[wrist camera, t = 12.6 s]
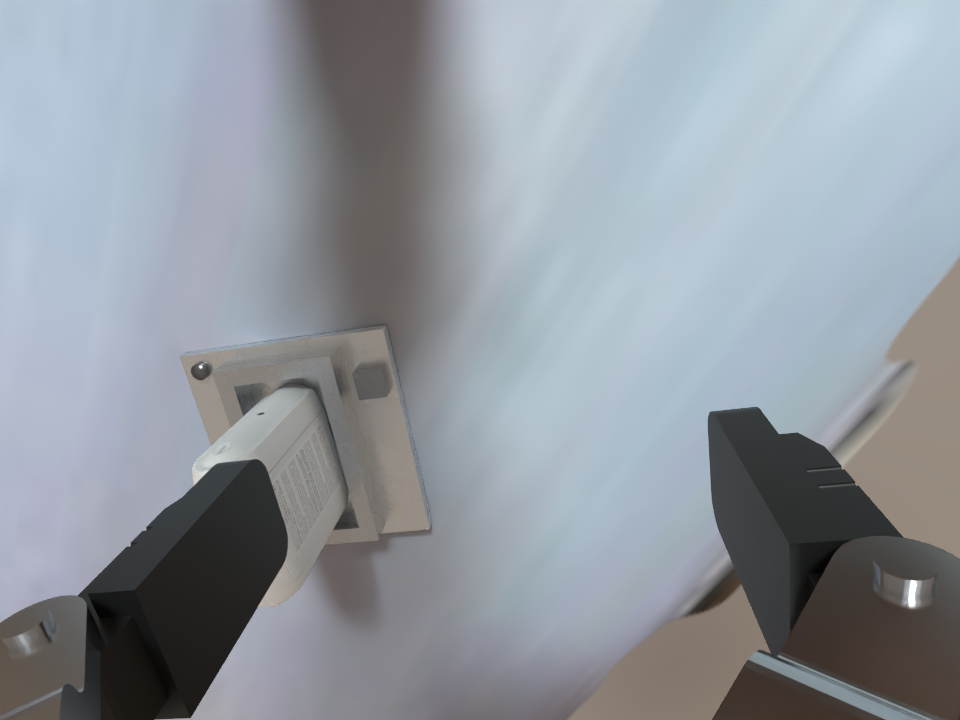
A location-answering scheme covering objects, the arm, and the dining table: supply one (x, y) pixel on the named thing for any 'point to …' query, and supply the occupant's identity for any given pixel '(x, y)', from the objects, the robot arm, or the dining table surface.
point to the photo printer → (290, 475)
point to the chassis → (329, 416)
